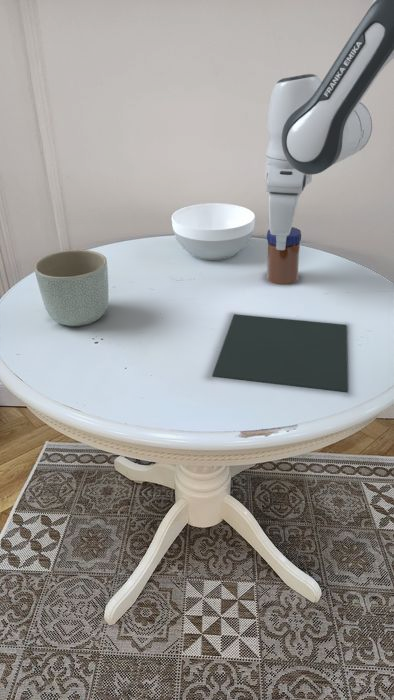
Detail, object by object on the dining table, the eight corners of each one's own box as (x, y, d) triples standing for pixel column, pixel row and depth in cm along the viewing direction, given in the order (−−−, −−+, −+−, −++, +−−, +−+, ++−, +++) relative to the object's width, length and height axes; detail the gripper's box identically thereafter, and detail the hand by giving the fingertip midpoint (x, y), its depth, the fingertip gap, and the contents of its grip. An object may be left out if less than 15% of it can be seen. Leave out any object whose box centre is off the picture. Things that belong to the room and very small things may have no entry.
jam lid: (269, 234, 110) (269, 225, 109) (301, 234, 109) (302, 226, 108) (265, 245, 105) (265, 236, 104) (299, 246, 103) (299, 237, 102)
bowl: (172, 269, 117) (170, 231, 112) (173, 238, 132) (172, 203, 128) (258, 267, 117) (259, 229, 112) (249, 237, 133) (250, 202, 128)
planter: (30, 322, 97) (19, 267, 91) (79, 296, 106) (71, 244, 100) (78, 341, 91) (69, 283, 85) (126, 312, 100) (121, 258, 94)
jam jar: (299, 273, 113) (301, 230, 108) (296, 285, 108) (299, 240, 103) (268, 272, 114) (269, 229, 110) (265, 284, 109) (266, 239, 104)
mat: (345, 327, 94) (346, 324, 94) (346, 393, 77) (347, 391, 77) (234, 316, 98) (234, 314, 98) (212, 377, 81) (212, 375, 81)
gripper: (277, 157, 109) (272, 223, 116) (264, 184, 92) (260, 259, 99) (308, 159, 107) (302, 225, 115) (301, 187, 91) (294, 262, 98)
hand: (282, 241), depth 107 cm, fingers closed on jam lid, 6 cm apart
